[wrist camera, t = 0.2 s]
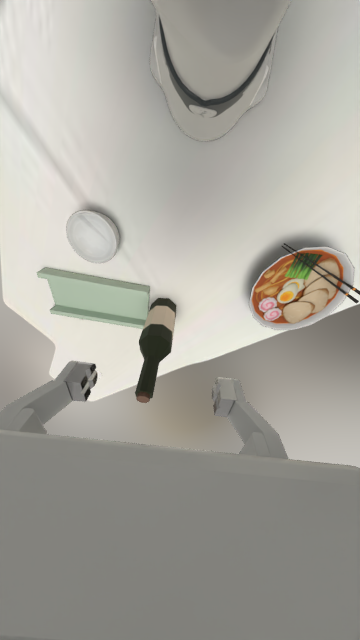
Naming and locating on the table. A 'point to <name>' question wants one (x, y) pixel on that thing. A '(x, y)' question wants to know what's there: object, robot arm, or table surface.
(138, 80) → the table surface
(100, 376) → the spoon
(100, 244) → the ramekin
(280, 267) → the ramen bowl
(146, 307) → the tray
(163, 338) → the wine bottle
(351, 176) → the table surface
